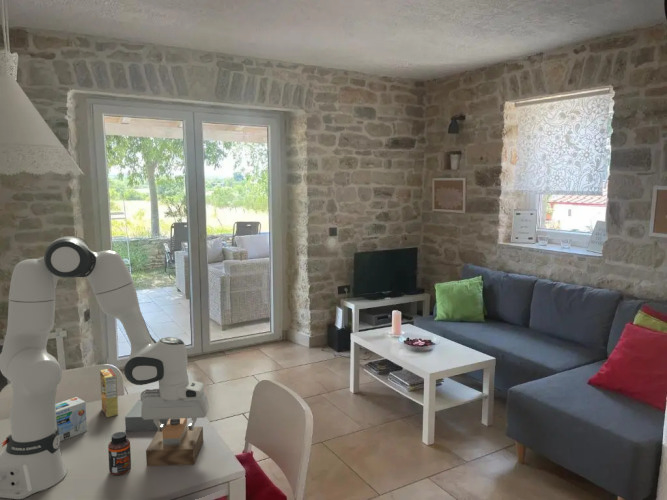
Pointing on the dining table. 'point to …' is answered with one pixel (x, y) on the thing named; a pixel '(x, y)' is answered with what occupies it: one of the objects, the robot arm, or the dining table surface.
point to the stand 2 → (175, 449)
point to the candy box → (109, 392)
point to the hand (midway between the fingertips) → (176, 430)
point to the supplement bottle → (119, 454)
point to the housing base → (175, 441)
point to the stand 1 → (140, 420)
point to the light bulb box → (71, 418)
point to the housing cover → (174, 428)
